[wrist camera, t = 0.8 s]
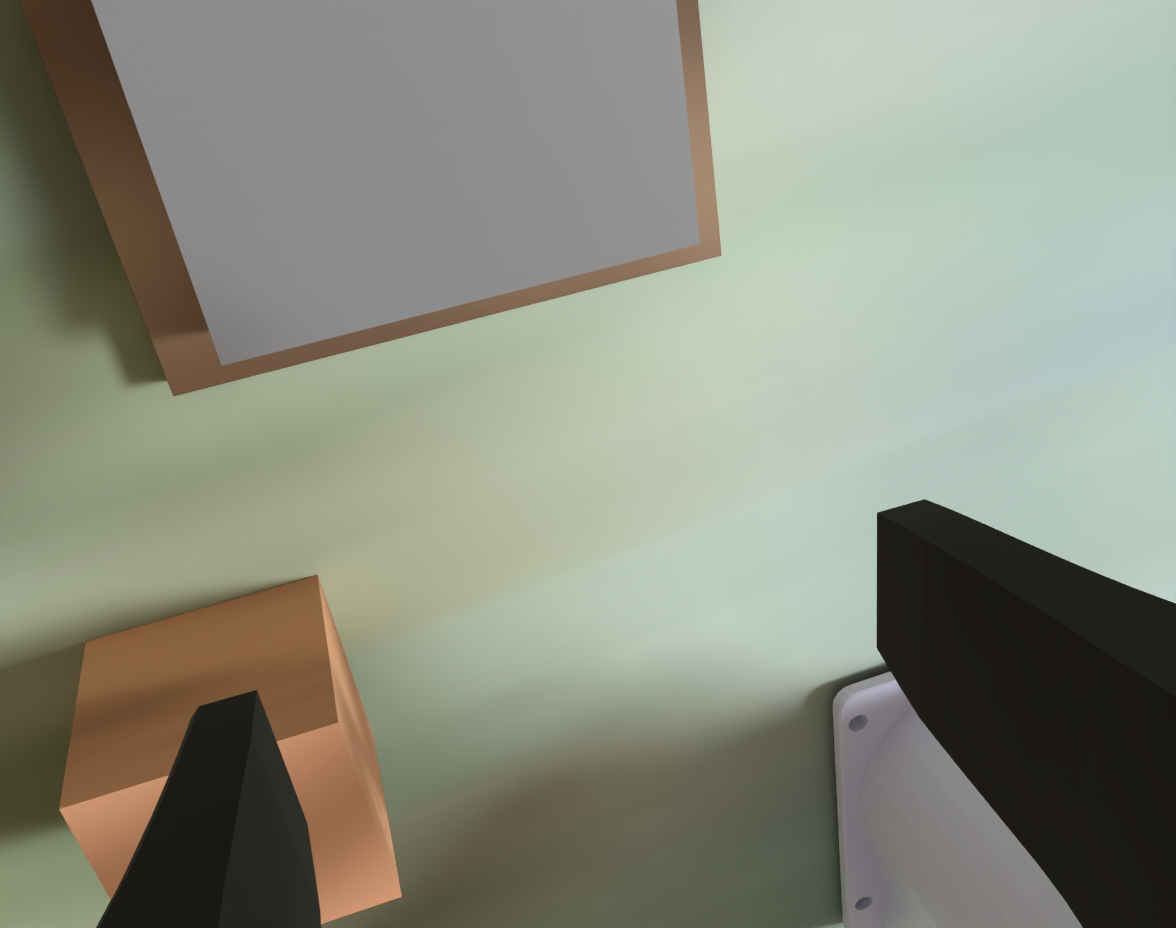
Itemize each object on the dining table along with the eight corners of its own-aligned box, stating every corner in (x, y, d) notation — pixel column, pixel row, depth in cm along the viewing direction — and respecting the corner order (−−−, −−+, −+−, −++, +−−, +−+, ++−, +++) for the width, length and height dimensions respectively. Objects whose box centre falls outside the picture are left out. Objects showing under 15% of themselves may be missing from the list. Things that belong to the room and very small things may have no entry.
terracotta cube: (372, 734, 25) (401, 896, 21) (166, 799, 24) (157, 980, 20) (317, 573, 22) (338, 722, 19) (86, 639, 22) (58, 809, 18)
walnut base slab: (691, 231, 22) (721, 255, 21) (176, 361, 20) (173, 396, 19) (624, -405, 17) (658, -425, 16) (-77, -300, 15) (-103, -312, 14)
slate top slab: (669, 217, 20) (700, 243, 19) (220, 330, 19) (222, 365, 17) (608, -322, 16) (642, -334, 15) (25, -227, 15) (8, -234, 13)
